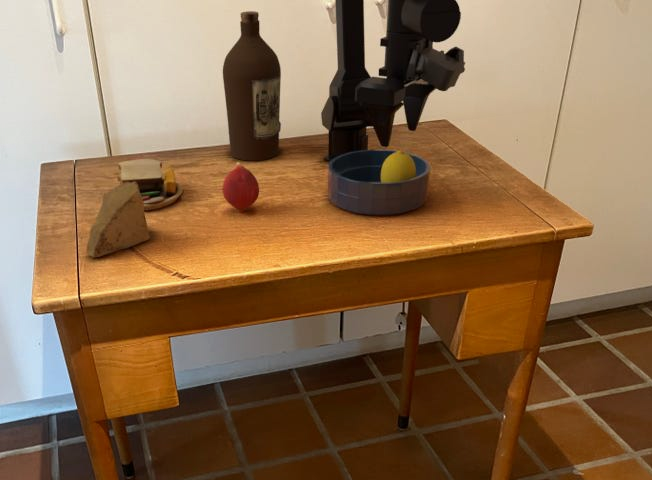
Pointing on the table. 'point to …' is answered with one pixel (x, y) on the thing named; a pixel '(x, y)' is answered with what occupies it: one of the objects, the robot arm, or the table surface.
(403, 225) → the table surface
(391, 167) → the lemon
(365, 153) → the bowl
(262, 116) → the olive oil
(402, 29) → the robot arm
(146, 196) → the toy sandwich meal
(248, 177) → the onion
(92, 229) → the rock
